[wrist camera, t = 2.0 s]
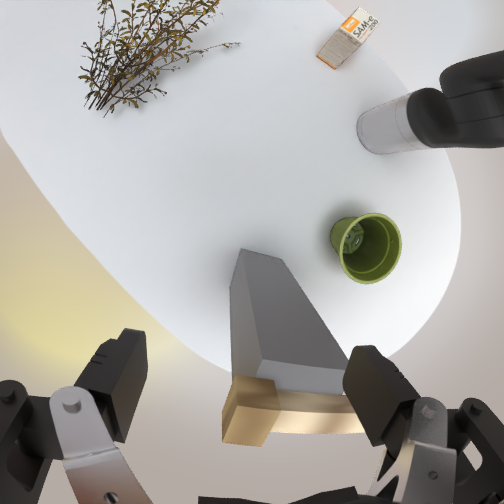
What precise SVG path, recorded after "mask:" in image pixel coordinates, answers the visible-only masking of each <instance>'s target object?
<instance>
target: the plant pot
mask: <svg viewBox="0 0 504 504" xmlns="http://www.w3.org/2000/svg"><path fill="white" fill-rule="evenodd" d="M355 224H356V225H357V226H356V227H355V226H354V225H355ZM347 235H350V237H349V238H347V237H346V236H347ZM358 238H360V240H359V242H358V244H357V245H356V244H355V243H356V242H357V240H358ZM331 243H332V245H333V247H334V249H335V250H336V252H337V253H338V255H339V256H340V262H341V266H342V268H343V270H344V272H345V273H346V274H347V276H348V277H349V278H351V279H352V280H353V281H355V282H358V283H361V284H372V283H376V282H378V281H380V280H382V279H384V278H385V277H387V276H388V275H389V274H390V273H391V272H392V270H393V269H394V268H395V266H396V264H397V263H398V260H399V258H400V254H401V249H402V241H401V235H400V232H399V229H398V227H397V225H396V224H395V223H394V221H393V220H391V219H390V218H389V217H387V216H386V215H383V214H379V213H369V214H365V215H363V216H360V217H359V218H344V219H342V220H340V221H338V222H337V223H336V224H335V225H334V227H333V229H332V231H331ZM343 248H344V250H343Z"/></svg>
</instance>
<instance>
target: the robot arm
mask: <svg viewBox="0 0 504 504" xmlns="http://www.w3.org/2000/svg"><path fill="white" fill-rule="evenodd" d="M439 80H440V85H441V89H442V92H443V93H442V92H441V91H439V90H437V89H434V88H423V89H420V90H417V91H415V92H412V93H410V94H407V95H405V96H402V97H400V98H397V99H395V100H393V101H390V102H388V103H385V104H383V105H381V106H378V107H376V108H374V109H372V110H369V111H367V112H365V113H364V114H362V115H361V117H360V118H359V120H358V124H357V133H358V137H359V139H360V141H361V143H362V144H363V145H364V147H365V148H366V149H368V150H369V151H371V152H373V153H376V154H386V153H394V152H403V151H412V150H421V149H431V148H448V147H449V148H451V147H464V148H498V147H504V50H503V51H499V52H495V53H490V54H487V55H483V56H479V57H475V58H471V59H468V60H465V61H462V62H459V63H456V64H454V65H451V66H450V67H448V68H446V69H445V70H444V71H443V72H442V73H441V75H440V79H439ZM147 371H148V363H147V348H146V335H145V332H144V331H140V330H134V329H128V328H125V329H124V330H123V331H122V333H121V335H120V336H119V337H118V339H117V340H115V339H109V340H107V341H106V342H104V343H103V344H101V345H100V346H99V348H98V349H97V351H96V352H95V355H93V357H92V358H91V360H90V362H89V363H88V364H87V366H86V367H85V369H84V370H83V372H82V373H81V375H80V376H79V378H78V379H77V381H76V382H75V384H74V386H68V387H63V388H60V389H59V390H57V391H55V392H54V393H53V394H52V396H51V397H38V396H29V395H28V393H27V391H26V389H25V387H24V386H23V385H22V384H21V383H20V382H18V381H15V380H5V381H1V382H0V504H37V503H38V500H39V497H40V494H41V491H42V488H43V485H44V482H45V479H46V476H47V474H48V471H49V468H50V466H51V463H52V460H53V459H57V460H62V462H63V466H64V469H65V471H66V474H67V477H68V479H69V482H70V484H71V487H72V489H73V492H74V494H75V496H76V498H77V501H78V503H79V504H153V503H152V501H151V500H150V498H149V497H148V495H147V494H146V492H145V491H144V490H143V488H142V486H141V485H140V483H139V482H138V480H137V479H136V477H135V475H134V474H133V472H132V471H131V469H130V467H129V466H128V464H127V462H126V460H125V459H124V457H123V455H122V453H121V452H120V450H119V449H118V448H117V447H116V446H115V444H114V441H117V442H121V443H125V440H126V437H127V434H128V431H129V428H130V425H131V422H132V419H133V416H134V413H135V410H136V407H137V404H138V401H139V398H140V395H141V392H142V390H143V387H144V384H145V381H146V378H147ZM342 385H343V390H344V392H345V394H346V396H347V398H348V399H349V401H350V403H351V405H352V407H353V409H354V411H355V413H356V415H357V417H358V419H359V421H360V423H361V425H362V427H363V428H364V430H365V432H366V434H367V436H368V438H369V440H370V442H371V444H372V446H373V447H375V446H379V445H383V444H385V445H386V449H385V450H384V451H383V453H382V457H381V460H380V463H379V466H378V469H377V471H376V474H375V477H374V480H373V482H372V485H371V487H370V489H369V491H368V492H367V494H366V495H360V494H357V491H356V489H355V487H354V486H352V487H348V488H343V489H338V490H333V491H327V492H321V493H318V494H315V495H313V496H310V497H307V498H304V499H302V500H298V501H296V502H292V503H290V504H452V503H453V504H504V425H503V424H502V422H501V421H500V420H499V419H498V418H497V417H496V415H495V414H494V413H493V412H492V411H491V410H490V408H489V407H488V406H487V405H486V404H485V403H484V402H482V401H481V400H479V399H476V398H467V399H465V400H464V401H463V403H462V404H461V406H460V408H459V409H446V408H445V406H444V405H443V404H442V403H441V402H440V401H438V400H436V399H434V398H430V397H421V396H420V395H419V394H418V393H417V392H416V390H415V389H414V388H413V386H412V385H411V384H410V383H409V381H408V380H407V379H406V378H404V375H403V374H402V373H401V372H399V369H398V368H397V367H396V366H395V364H394V363H393V362H391V361H390V360H388V359H387V358H385V357H384V356H382V355H381V353H380V352H379V351H378V350H377V348H376V347H375V346H373V345H365V346H355V347H354V349H353V350H352V353H351V356H350V359H349V362H348V365H347V367H346V370H345V373H344V376H343V381H342ZM470 441H472V442H473V444H474V445H475V446H476V448H477V449H478V451H479V452H480V454H481V455H482V459H483V461H482V464H481V466H480V468H479V469H478V470H477V471H475V469H474V468H473V466H472V464H471V463H470V461H469V460H468V458H467V457H466V455H465V454H464V452H463V450H464V449H465V448H466V446H467V445H468V444H469V443H470ZM198 504H269V503H263V502H256V501H250V500H246V499H240V498H215V497H200V496H199V497H198Z"/></svg>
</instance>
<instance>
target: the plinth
mask: <svg viewBox="0 0 504 504" xmlns="http://www.w3.org/2000/svg"><path fill="white" fill-rule="evenodd" d="M230 330H231V362H232V382H233V380H234V377H235V374H238V375H244V376H250V377H256V378H262V379H269V380H274V382H275V386H276V389H277V390H286V391H295V392H305V393H317V394H332V395H342V393H343V392H344V390H343V385H342V381H343V376H344V373H345V370H346V367H347V365H348V362H349V360H348V359H347V357H346V355H345V354H344V352H343V351H342V349H341V348H340V346H339V345H338V343H337V342H336V340H335V339H334V337H333V335H332V334H331V332H330V331H329V329H328V328H327V326H326V325H325V323H324V322H323V320H322V319H321V317H320V316H319V314H318V313H317V311H316V310H315V308H314V307H313V305H312V304H311V302H310V301H309V299H308V298H307V296H306V295H305V293H304V292H303V290H302V289H301V287H300V286H299V284H298V283H297V281H296V280H295V278H294V277H293V275H292V274H291V272H290V271H289V269H288V268H287V266H286V265H285V263H284V262H283V261H282V259H278V258H275V257H271V256H267V255H263V254H260V253H256V252H252V251H248V250H245V249H241V250H240V253H239V257H238V260H237V263H236V267H235V270H234V274H233V277H232V281H231V284H230Z"/></svg>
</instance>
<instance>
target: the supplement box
mask: <svg viewBox="0 0 504 504" xmlns="http://www.w3.org/2000/svg"><path fill="white" fill-rule="evenodd" d="M379 23H380V22H379V21H378V20H377V19H376V18H374V17H373V16H372V15H370V14H369V13H368V12H366V11H365V10H364V9H362V8H361V7H358V8H357V10H355V11H354V13H352V14H351V15H350V17H349V18H348V19H347V20H346V21H345V22H344V23H343V24H342V25H341V26H340V27H339V28H338V30H337V31H336V32H335V33H334V35H333V36H332V37H331V38H330V39H329V41H328V42H327V43H326V45H325V46H324V47H323V48H322V50H321V51H320V52H319V54H318V55H317V57H318V58H320V59H321V60H323V61H324V62H325V63H327V64H328V65H330V66H331V67H332V68H334V69H336V68H337V67H338V66H339V65H340V64H341V63H342V62H343V61H344V60H345V59H347V58H348V57H349V56H350V55H351V54H352V53H353V52H354V51H355V50H356V49H357V48H358V47H360V46H361V45H362V44H363V43H364V41H365V40H366V39H367V38H368V37H369V35H370V34H371V33H372V32H373V31H374V29H375V28H376V27H377V26H378V25H379Z"/></svg>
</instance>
